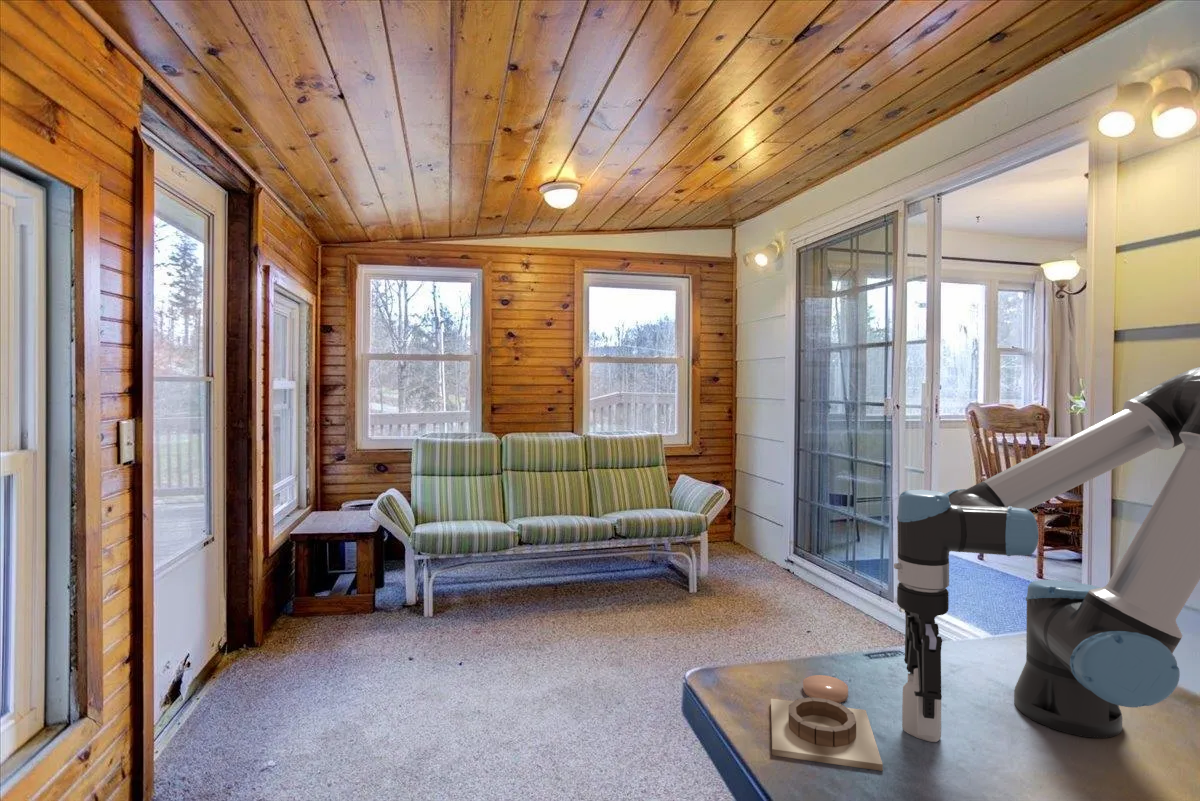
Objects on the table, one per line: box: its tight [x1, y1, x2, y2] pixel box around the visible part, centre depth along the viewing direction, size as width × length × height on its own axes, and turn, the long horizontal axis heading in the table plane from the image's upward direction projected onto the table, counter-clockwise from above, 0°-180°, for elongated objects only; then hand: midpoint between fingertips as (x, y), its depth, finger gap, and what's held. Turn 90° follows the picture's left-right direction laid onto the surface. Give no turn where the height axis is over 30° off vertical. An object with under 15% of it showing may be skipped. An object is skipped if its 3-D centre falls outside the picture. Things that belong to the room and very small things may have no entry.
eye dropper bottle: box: [901, 668, 942, 743], centre depth 102 cm, size 4×6×12 cm
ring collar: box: [770, 696, 884, 772], centre depth 102 cm, size 16×16×4 cm
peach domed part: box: [802, 674, 849, 704], centre depth 116 cm, size 8×8×2 cm
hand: (921, 723), depth 102 cm, fingers open, 6 cm apart
